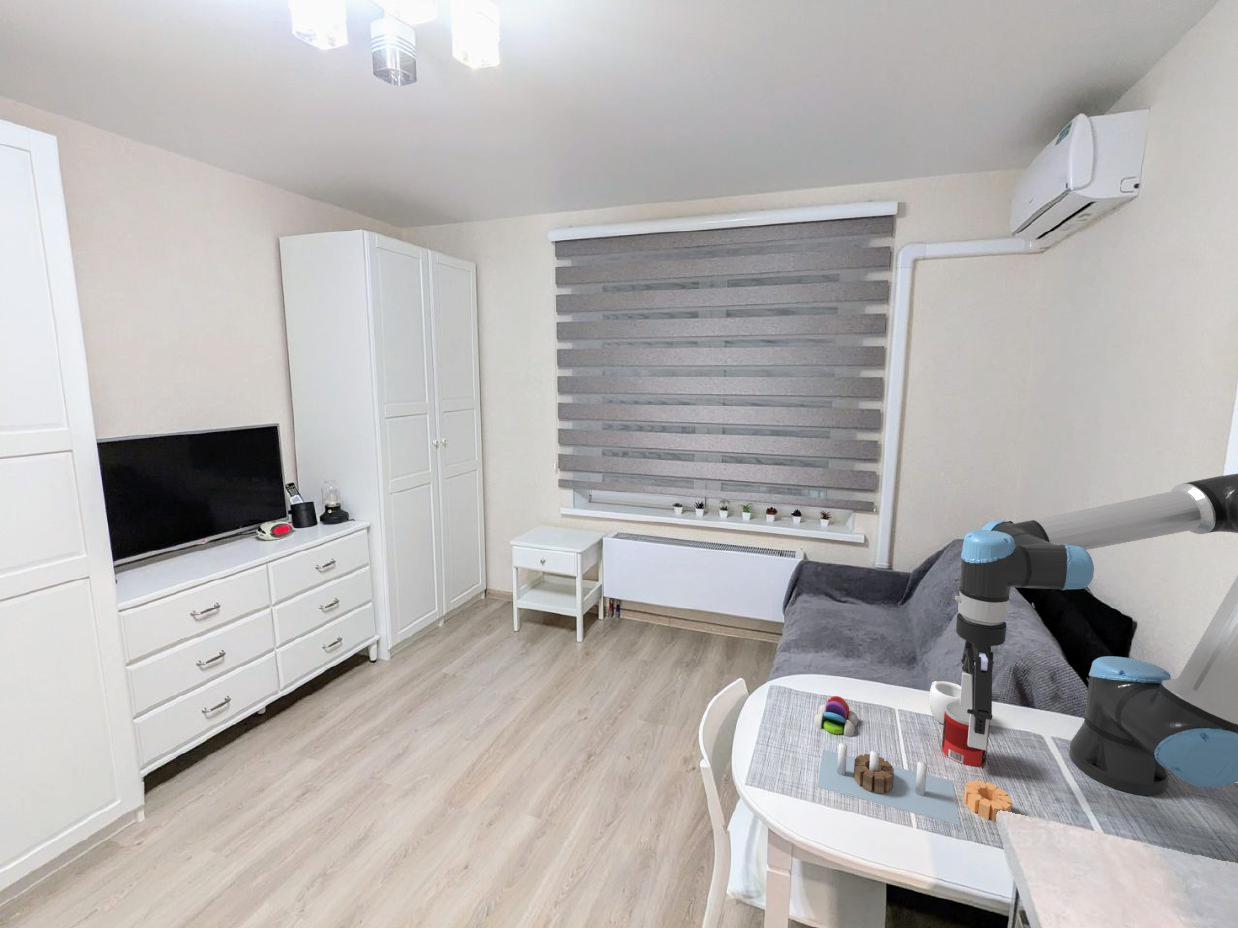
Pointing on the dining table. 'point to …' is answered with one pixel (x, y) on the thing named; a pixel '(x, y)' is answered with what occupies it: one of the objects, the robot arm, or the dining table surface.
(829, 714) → the multicolored petal toy
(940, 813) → the gear board
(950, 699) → the mug
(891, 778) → the gear
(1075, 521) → the robot arm
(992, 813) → the gear
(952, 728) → the canned food
